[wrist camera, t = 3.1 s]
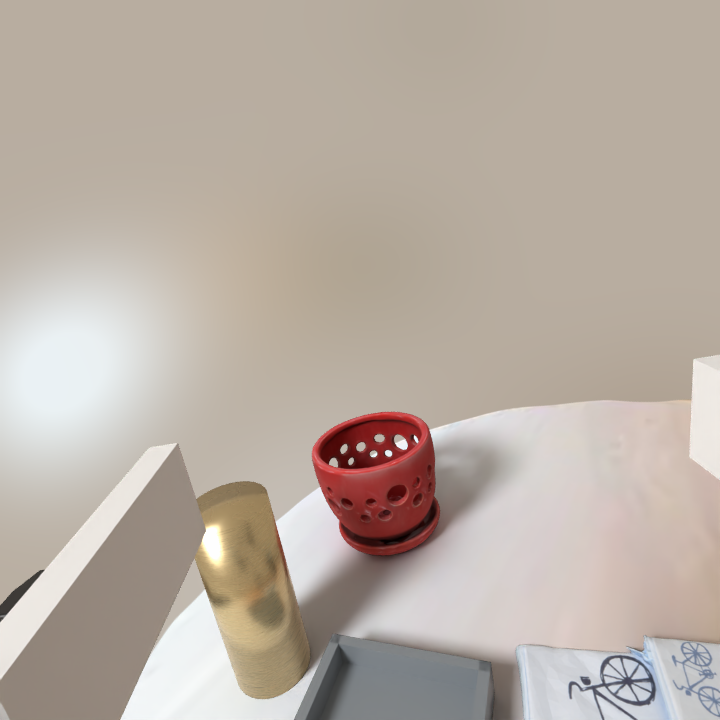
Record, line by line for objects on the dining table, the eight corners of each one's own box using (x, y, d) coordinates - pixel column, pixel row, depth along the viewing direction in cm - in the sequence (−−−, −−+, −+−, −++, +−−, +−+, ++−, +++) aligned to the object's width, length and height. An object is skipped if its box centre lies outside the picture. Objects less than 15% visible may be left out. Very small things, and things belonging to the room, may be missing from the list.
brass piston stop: (261, 625, 45) (216, 479, 40) (322, 636, 43) (282, 483, 38) (221, 689, 40) (163, 529, 35) (289, 707, 37) (236, 537, 32)
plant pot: (390, 482, 64) (375, 401, 60) (468, 521, 54) (456, 426, 50) (310, 534, 57) (287, 445, 53) (383, 590, 47) (361, 485, 43)
